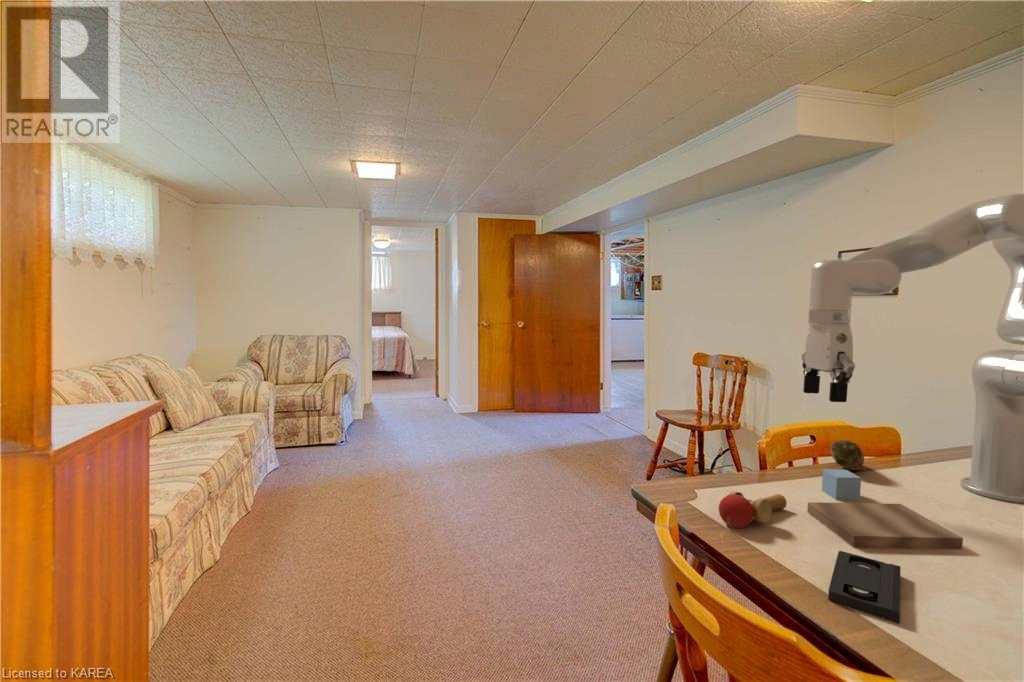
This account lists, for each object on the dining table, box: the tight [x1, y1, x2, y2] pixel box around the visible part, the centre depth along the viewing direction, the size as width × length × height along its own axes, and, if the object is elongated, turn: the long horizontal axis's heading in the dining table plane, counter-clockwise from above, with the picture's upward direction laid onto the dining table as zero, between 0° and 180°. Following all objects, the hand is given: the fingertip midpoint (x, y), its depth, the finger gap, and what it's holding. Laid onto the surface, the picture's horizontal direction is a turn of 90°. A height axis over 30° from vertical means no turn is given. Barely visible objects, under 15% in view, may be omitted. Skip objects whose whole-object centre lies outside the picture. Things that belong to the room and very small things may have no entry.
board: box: [807, 501, 964, 550], centre depth 89 cm, size 18×14×2 cm
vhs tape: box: [827, 550, 902, 625], centre depth 71 cm, size 14×8×2 cm, turn 141°
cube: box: [821, 468, 862, 501], centre depth 105 cm, size 5×5×5 cm
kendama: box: [718, 490, 788, 529], centre depth 94 cm, size 8×6×18 cm
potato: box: [829, 439, 865, 471], centre depth 121 cm, size 8×13×8 cm, turn 127°
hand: (823, 397), depth 105 cm, fingers open, 9 cm apart
